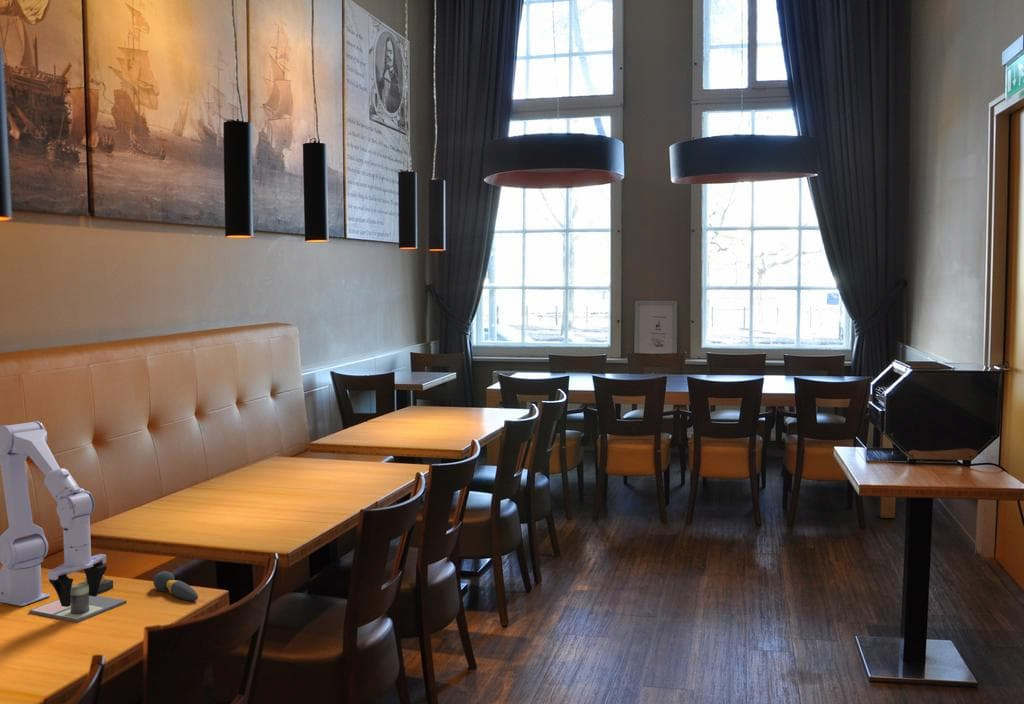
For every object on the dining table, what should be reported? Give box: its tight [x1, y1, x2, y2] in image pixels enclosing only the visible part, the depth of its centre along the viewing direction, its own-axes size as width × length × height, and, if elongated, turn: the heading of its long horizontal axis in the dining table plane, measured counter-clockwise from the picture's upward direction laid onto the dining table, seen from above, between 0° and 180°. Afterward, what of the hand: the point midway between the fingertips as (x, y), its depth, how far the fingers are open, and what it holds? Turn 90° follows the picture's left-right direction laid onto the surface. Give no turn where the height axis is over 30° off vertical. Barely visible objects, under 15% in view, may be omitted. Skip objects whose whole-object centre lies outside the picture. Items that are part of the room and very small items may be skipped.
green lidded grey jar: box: [70, 583, 89, 614], centre depth 210 cm, size 4×4×6 cm
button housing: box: [78, 578, 114, 595], centre depth 228 cm, size 6×6×2 cm
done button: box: [84, 574, 105, 584], centre depth 228 cm, size 3×3×2 cm
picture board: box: [28, 594, 127, 623], centre depth 215 cm, size 16×14×1 cm
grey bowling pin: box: [152, 570, 199, 602], centre depth 225 cm, size 20×5×5 cm, turn 56°
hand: (79, 600), depth 211 cm, fingers open, 7 cm apart
